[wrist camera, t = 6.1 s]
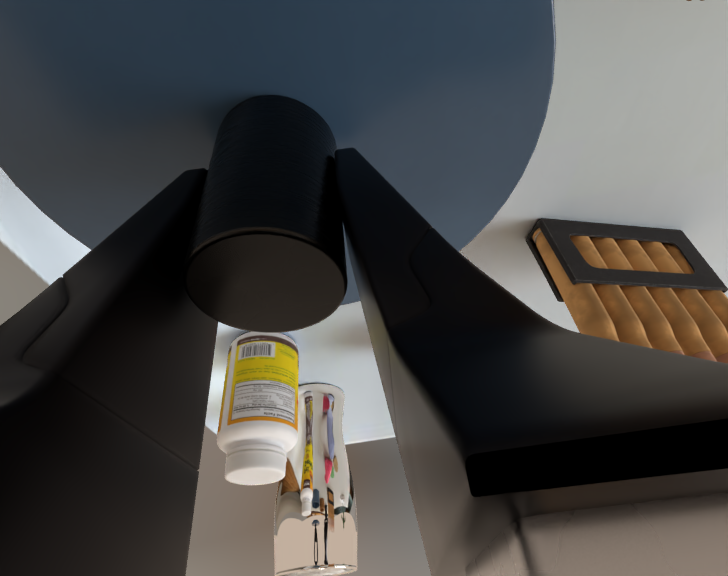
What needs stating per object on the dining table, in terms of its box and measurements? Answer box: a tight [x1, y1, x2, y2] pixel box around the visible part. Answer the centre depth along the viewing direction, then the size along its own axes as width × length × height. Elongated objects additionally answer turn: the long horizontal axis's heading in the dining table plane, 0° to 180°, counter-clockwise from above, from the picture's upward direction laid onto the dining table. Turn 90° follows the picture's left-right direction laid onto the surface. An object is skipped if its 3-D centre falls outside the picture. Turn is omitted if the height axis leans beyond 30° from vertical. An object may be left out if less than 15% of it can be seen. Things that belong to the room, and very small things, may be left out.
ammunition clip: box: [526, 218, 728, 363], centre depth 23 cm, size 11×2×12 cm, turn 80°
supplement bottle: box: [217, 331, 298, 485], centre depth 31 cm, size 6×6×10 cm
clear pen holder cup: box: [274, 384, 358, 576], centre depth 37 cm, size 7×7×15 cm
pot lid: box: [0, 0, 556, 333], centre depth 8 cm, size 12×12×5 cm
